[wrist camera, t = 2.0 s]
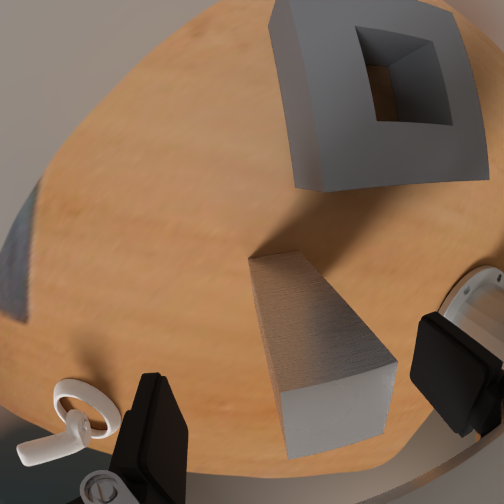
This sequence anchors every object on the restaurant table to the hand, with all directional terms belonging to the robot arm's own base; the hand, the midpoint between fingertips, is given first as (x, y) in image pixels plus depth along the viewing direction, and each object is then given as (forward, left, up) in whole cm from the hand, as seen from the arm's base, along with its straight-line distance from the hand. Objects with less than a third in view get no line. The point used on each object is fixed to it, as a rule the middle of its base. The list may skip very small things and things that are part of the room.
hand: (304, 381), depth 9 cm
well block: (-9, -12, -11) cm, 18 cm away
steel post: (-1, 0, -11) cm, 11 cm away
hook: (+19, +11, -12) cm, 25 cm away
